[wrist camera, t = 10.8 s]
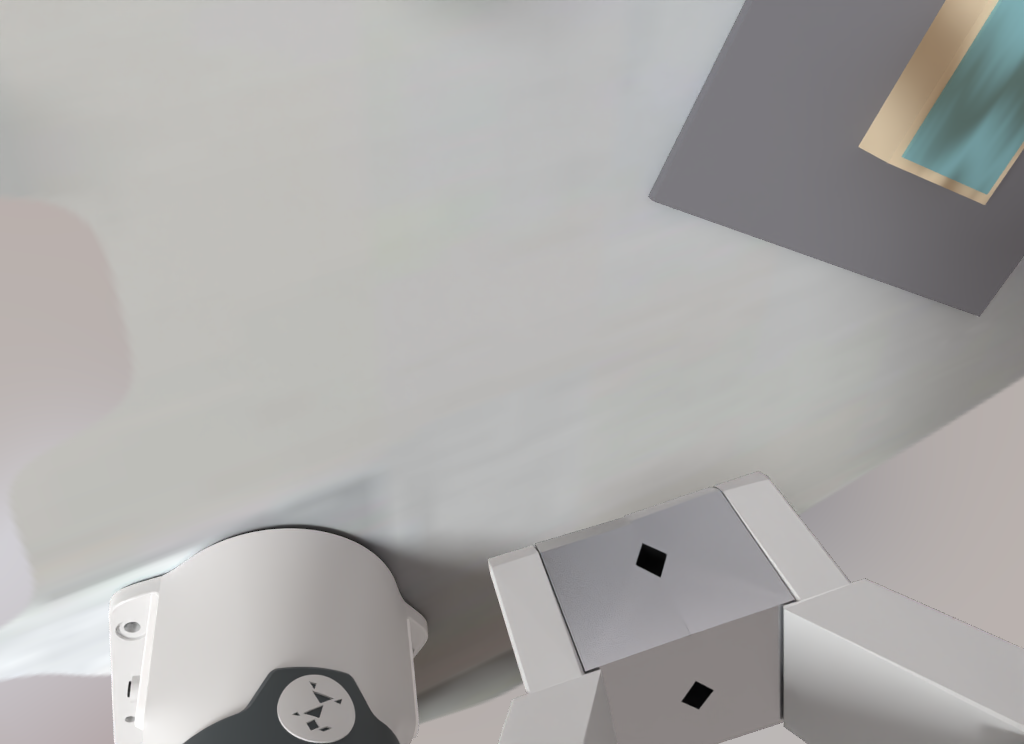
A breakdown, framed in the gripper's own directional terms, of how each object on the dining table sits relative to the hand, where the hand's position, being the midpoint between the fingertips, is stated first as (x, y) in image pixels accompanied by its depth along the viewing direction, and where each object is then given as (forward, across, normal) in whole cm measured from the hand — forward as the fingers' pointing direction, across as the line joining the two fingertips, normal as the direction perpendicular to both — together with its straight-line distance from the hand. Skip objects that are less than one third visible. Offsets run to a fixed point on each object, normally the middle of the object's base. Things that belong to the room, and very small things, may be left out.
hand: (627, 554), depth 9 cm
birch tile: (+29, -25, +8) cm, 39 cm away
